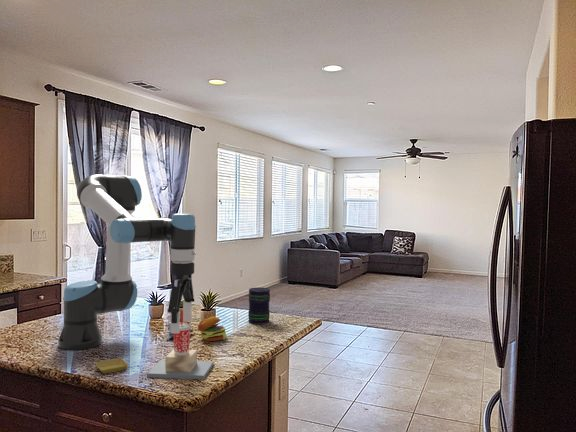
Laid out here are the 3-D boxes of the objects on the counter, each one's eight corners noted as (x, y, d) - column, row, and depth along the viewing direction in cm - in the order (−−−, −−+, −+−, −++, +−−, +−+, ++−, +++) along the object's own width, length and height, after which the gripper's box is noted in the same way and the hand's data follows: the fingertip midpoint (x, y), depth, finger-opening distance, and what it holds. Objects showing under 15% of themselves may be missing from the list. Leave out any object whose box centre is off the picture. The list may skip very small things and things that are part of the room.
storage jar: (245, 320, 218) (245, 288, 218) (264, 318, 222) (265, 286, 222) (252, 325, 209) (253, 292, 209) (272, 323, 213) (273, 290, 213)
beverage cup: (173, 357, 147) (174, 313, 147) (170, 351, 153) (170, 309, 152) (193, 355, 150) (193, 311, 149) (189, 349, 155) (189, 307, 155)
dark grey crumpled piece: (156, 336, 191) (169, 342, 182) (158, 320, 191) (172, 325, 182) (183, 336, 199) (197, 342, 190) (185, 320, 199) (199, 325, 190)
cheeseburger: (222, 343, 181) (216, 318, 182) (197, 347, 184) (191, 322, 184) (230, 335, 191) (225, 311, 191) (206, 339, 194) (201, 316, 194)
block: (165, 371, 148) (165, 357, 147) (173, 362, 156) (173, 349, 155) (190, 372, 147) (190, 357, 147) (196, 363, 155) (197, 349, 155)
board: (146, 377, 145) (147, 373, 145) (160, 362, 158) (160, 359, 158) (204, 379, 144) (204, 375, 144) (213, 364, 157) (213, 361, 157)
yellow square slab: (128, 371, 151) (128, 365, 151) (100, 376, 146) (100, 370, 146) (121, 363, 158) (121, 357, 158) (94, 368, 153) (94, 362, 153)
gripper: (182, 267, 138) (181, 339, 139) (203, 257, 163) (202, 317, 163) (157, 266, 138) (156, 337, 139) (182, 256, 163) (181, 316, 164)
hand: (181, 327), depth 151 cm, fingers open, 13 cm apart
